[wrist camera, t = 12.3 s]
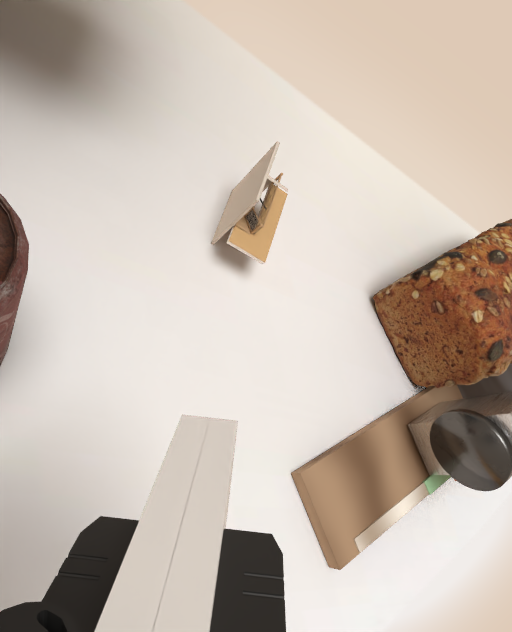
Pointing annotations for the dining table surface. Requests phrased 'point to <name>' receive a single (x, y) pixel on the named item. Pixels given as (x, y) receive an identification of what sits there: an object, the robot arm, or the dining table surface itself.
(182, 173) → the dining table surface
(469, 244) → the bread
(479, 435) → the brushed steel block
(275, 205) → the architectural model
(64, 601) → the robot arm
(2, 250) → the can
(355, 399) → the dining table surface
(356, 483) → the gauge body
